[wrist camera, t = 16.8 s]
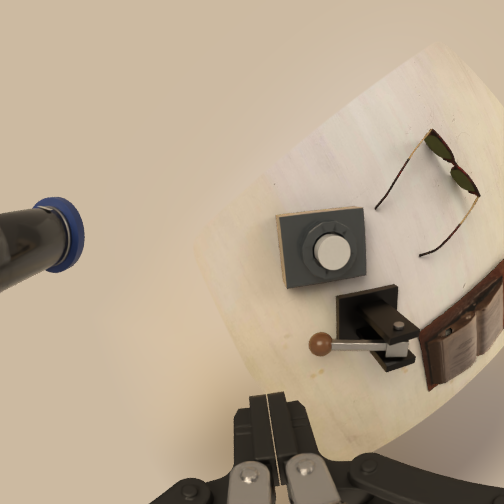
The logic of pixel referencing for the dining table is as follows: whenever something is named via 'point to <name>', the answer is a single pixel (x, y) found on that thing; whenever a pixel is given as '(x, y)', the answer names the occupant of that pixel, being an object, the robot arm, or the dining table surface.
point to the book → (464, 330)
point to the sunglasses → (456, 172)
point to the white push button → (332, 251)
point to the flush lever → (354, 345)
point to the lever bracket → (375, 322)
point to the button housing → (306, 236)
